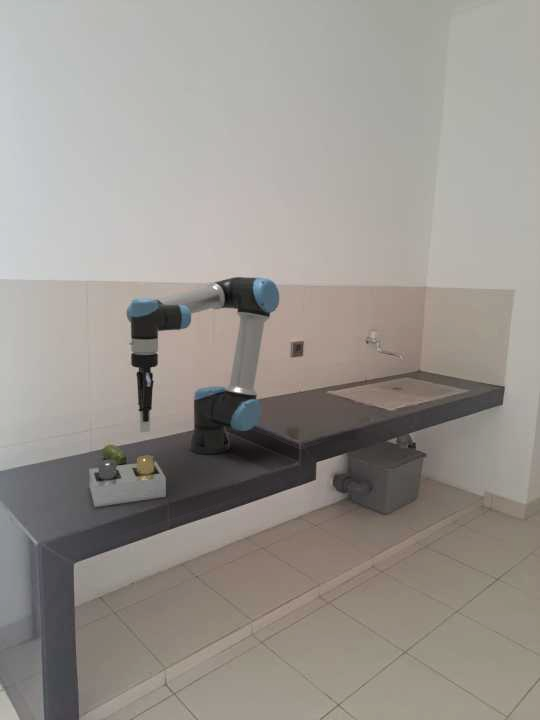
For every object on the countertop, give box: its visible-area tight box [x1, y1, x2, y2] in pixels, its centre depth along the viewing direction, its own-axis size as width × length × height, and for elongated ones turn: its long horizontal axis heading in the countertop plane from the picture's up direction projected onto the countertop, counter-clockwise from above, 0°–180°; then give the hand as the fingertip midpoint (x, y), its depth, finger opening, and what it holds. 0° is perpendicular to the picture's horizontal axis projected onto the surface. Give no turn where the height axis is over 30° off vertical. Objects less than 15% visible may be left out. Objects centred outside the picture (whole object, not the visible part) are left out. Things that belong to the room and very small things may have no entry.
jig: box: [88, 459, 167, 508], centre depth 156 cm, size 20×14×10 cm
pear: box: [101, 444, 128, 466], centre depth 181 cm, size 6×5×10 cm
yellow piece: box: [136, 454, 155, 476], centre depth 158 cm, size 5×5×10 cm
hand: (144, 431), depth 156 cm, fingers closed
